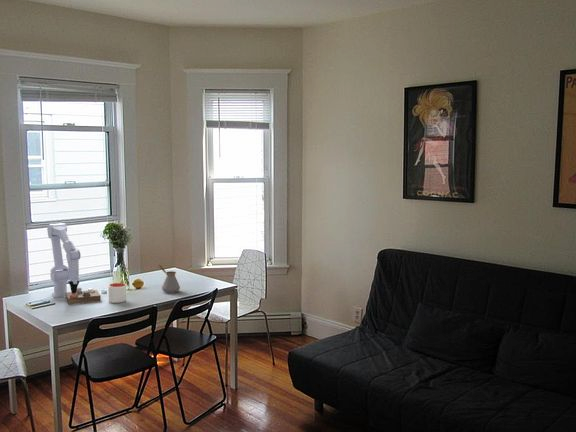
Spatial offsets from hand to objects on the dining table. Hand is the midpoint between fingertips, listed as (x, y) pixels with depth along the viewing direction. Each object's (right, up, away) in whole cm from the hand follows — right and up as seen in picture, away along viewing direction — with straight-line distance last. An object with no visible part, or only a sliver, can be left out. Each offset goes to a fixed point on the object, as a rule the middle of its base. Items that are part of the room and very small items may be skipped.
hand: (73, 293), depth 325 cm
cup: (+24, -6, +6) cm, 25 cm away
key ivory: (+6, -2, +12) cm, 13 cm away
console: (+3, -5, +6) cm, 8 cm away
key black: (+6, -3, +4) cm, 8 cm away
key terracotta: (0, -4, 0) cm, 4 cm away
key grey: (0, -1, +8) cm, 8 cm away
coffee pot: (+47, -3, +34) cm, 58 cm away
